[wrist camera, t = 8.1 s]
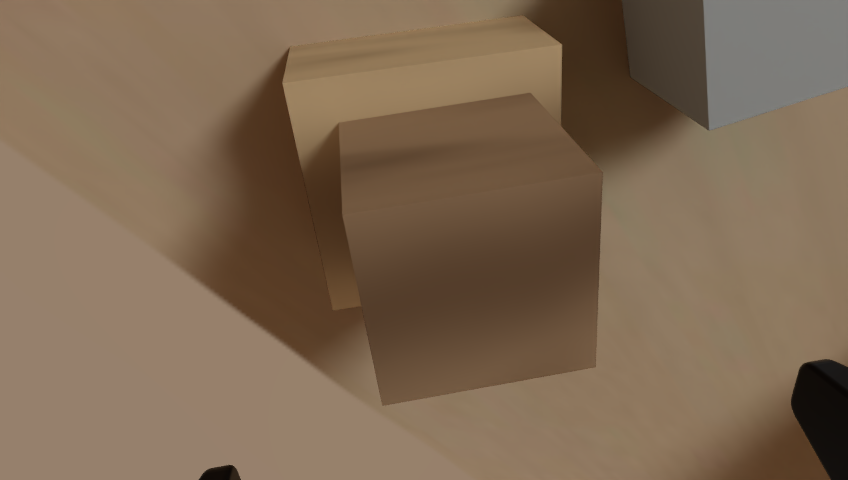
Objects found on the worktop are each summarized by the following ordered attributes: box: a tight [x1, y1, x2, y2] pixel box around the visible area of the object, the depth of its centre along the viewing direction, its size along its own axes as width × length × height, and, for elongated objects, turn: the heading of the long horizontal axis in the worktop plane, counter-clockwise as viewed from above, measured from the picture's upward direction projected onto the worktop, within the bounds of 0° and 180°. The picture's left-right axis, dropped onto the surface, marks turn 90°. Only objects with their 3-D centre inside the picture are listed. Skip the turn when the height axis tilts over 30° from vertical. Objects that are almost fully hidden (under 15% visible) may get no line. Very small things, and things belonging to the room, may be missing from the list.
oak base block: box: [282, 15, 562, 311], centre depth 19 cm, size 7×7×4 cm
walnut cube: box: [339, 93, 603, 406], centre depth 15 cm, size 5×5×5 cm
